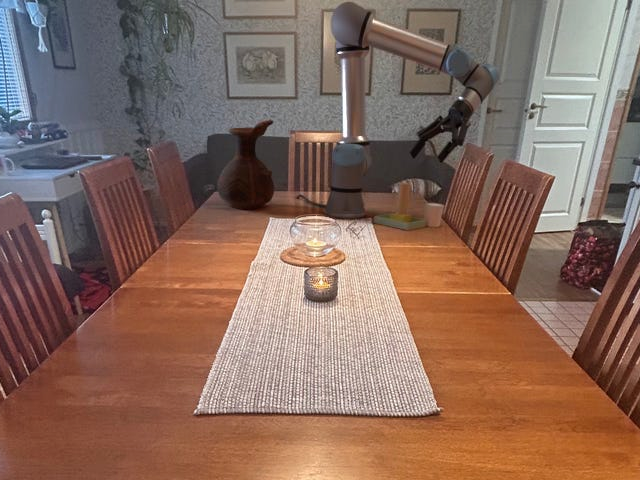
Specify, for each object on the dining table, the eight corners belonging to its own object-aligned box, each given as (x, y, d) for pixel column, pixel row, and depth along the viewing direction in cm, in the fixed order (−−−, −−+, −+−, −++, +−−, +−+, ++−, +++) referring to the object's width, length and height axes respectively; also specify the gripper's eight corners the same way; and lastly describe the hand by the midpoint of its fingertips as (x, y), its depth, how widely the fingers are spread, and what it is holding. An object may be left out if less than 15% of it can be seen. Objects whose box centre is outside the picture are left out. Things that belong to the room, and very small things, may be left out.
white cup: (442, 227, 209) (446, 206, 206) (423, 226, 209) (426, 205, 205) (439, 223, 215) (442, 203, 211) (420, 223, 215) (423, 202, 211)
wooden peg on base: (389, 220, 212) (393, 182, 206) (398, 219, 215) (402, 181, 209) (402, 223, 209) (407, 185, 202) (411, 222, 212) (416, 184, 205)
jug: (220, 211, 219) (217, 118, 203) (216, 201, 237) (212, 115, 221) (278, 211, 223) (279, 120, 207) (269, 201, 241) (270, 117, 225)
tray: (373, 222, 212) (374, 216, 211) (391, 219, 218) (392, 213, 217) (407, 230, 203) (408, 223, 202) (425, 227, 209) (426, 220, 208)
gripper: (495, 119, 197) (456, 170, 197) (442, 114, 214) (405, 161, 215) (488, 100, 191) (447, 153, 192) (433, 97, 209) (396, 145, 209)
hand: (425, 157), depth 203 cm, fingers open, 13 cm apart
